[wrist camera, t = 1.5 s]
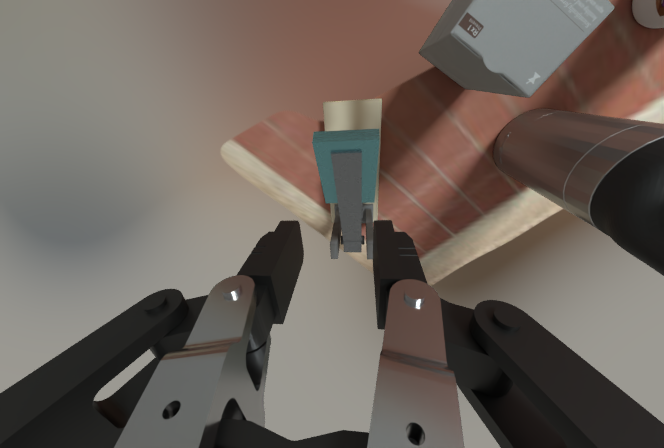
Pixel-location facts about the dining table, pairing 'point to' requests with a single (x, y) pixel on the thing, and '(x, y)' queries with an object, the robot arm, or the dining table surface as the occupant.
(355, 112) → the cracker base
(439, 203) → the dining table surface
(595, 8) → the skincare box
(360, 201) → the lever
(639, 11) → the milk bottle
